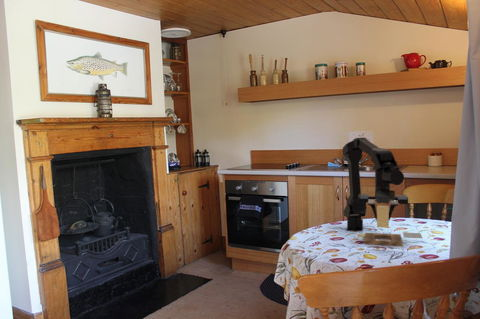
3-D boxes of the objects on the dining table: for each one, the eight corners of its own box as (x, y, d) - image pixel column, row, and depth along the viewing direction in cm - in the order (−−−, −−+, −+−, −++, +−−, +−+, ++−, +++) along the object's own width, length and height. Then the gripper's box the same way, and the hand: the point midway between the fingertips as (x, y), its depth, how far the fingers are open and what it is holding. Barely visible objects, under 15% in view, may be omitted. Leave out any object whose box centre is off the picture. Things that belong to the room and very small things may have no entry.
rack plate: (364, 246, 162) (364, 240, 161) (365, 238, 173) (365, 232, 173) (402, 248, 157) (402, 242, 157) (400, 240, 169) (400, 234, 168)
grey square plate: (404, 239, 169) (404, 237, 169) (402, 234, 177) (402, 232, 177) (422, 240, 167) (422, 238, 167) (420, 235, 175) (420, 233, 174)
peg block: (377, 227, 163) (376, 207, 163) (376, 224, 167) (376, 205, 167) (388, 227, 162) (388, 207, 161) (388, 225, 166) (388, 205, 165)
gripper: (357, 184, 158) (357, 223, 160) (409, 185, 153) (409, 226, 154) (358, 180, 169) (358, 217, 170) (407, 180, 163) (407, 219, 164)
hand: (382, 219), depth 164 cm, fingers closed on peg block, 4 cm apart
